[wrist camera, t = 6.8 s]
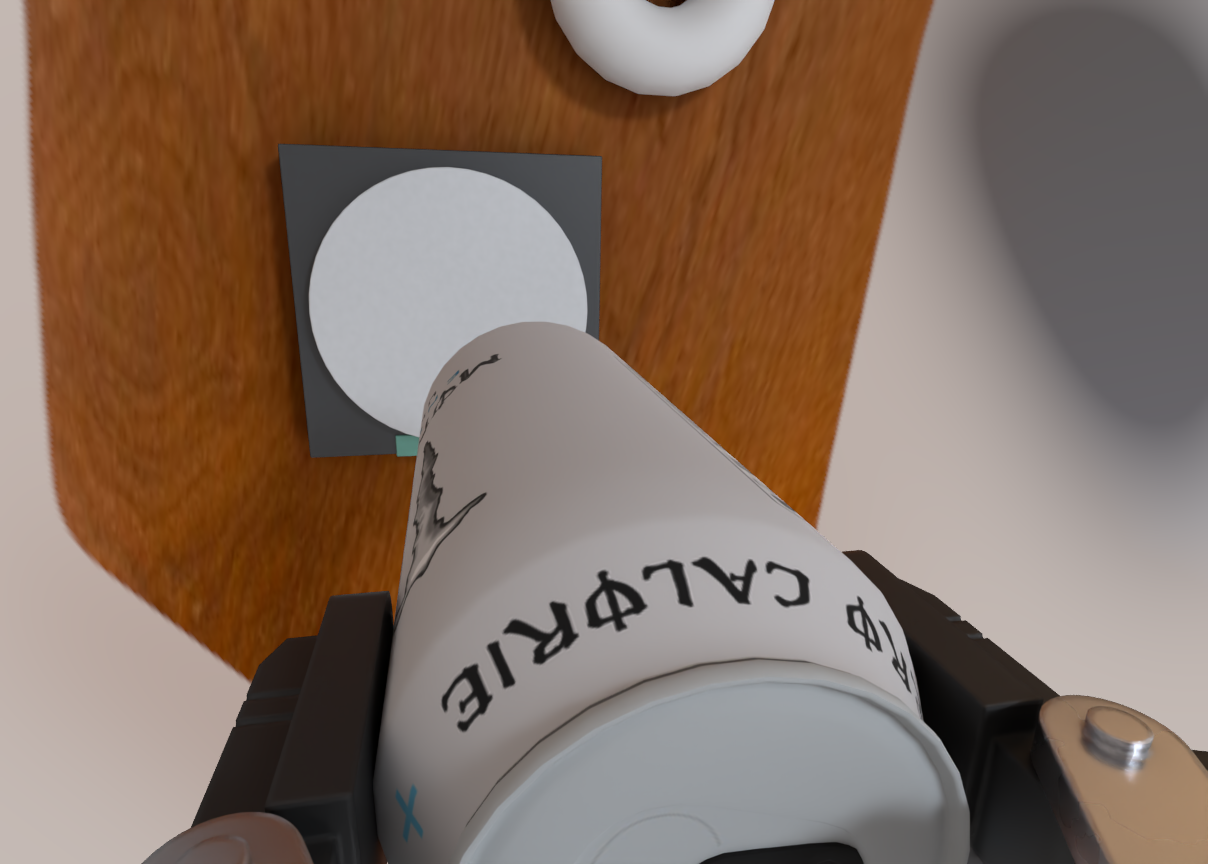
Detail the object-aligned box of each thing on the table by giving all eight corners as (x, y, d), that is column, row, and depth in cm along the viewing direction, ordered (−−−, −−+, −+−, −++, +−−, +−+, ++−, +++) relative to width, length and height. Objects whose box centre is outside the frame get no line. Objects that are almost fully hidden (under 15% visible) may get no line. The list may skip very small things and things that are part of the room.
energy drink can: (426, 306, 19) (354, 607, 5) (647, 325, 20) (1117, 602, 6) (417, 517, 20) (344, 1216, 6) (621, 522, 22) (939, 1102, 8)
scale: (288, 148, 30) (272, 141, 27) (593, 159, 32) (606, 154, 30) (318, 446, 33) (307, 466, 31) (589, 435, 36) (600, 452, 33)
